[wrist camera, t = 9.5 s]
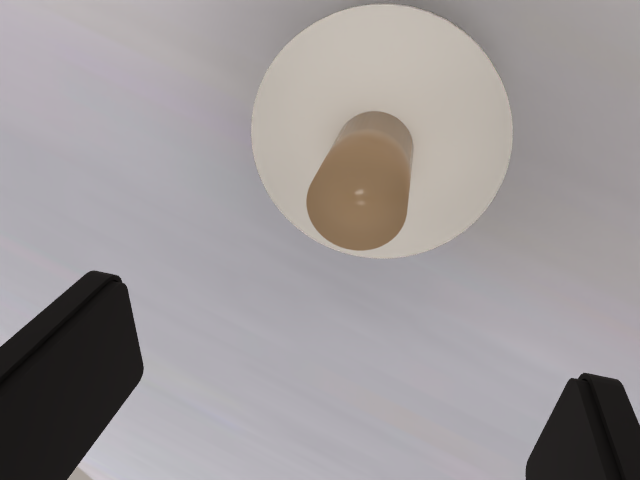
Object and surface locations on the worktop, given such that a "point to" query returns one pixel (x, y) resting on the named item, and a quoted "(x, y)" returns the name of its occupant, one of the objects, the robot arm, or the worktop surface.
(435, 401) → the worktop surface
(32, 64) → the worktop surface
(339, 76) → the lid
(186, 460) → the worktop surface
